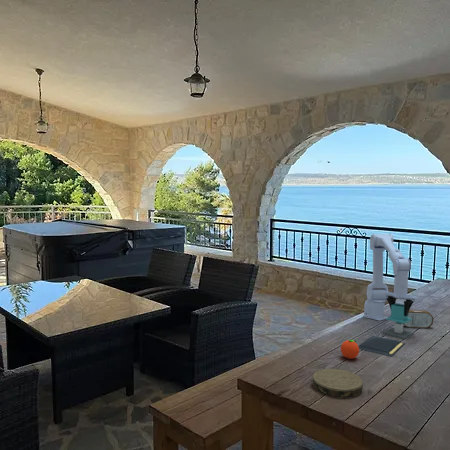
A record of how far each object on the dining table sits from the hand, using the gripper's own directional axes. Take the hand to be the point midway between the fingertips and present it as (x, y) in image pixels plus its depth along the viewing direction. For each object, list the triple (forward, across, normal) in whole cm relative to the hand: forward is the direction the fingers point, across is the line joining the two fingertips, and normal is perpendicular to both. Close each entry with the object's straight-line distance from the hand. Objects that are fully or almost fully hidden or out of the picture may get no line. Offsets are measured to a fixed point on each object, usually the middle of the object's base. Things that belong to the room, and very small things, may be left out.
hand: (399, 314), depth 194 cm
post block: (+9, 0, 0) cm, 9 cm away
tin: (+10, +1, +17) cm, 20 cm away
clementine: (+9, 0, -43) cm, 44 cm away
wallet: (+10, +2, -21) cm, 23 cm away
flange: (+2, 0, 0) cm, 2 cm away
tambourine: (+10, +10, -69) cm, 70 cm away
